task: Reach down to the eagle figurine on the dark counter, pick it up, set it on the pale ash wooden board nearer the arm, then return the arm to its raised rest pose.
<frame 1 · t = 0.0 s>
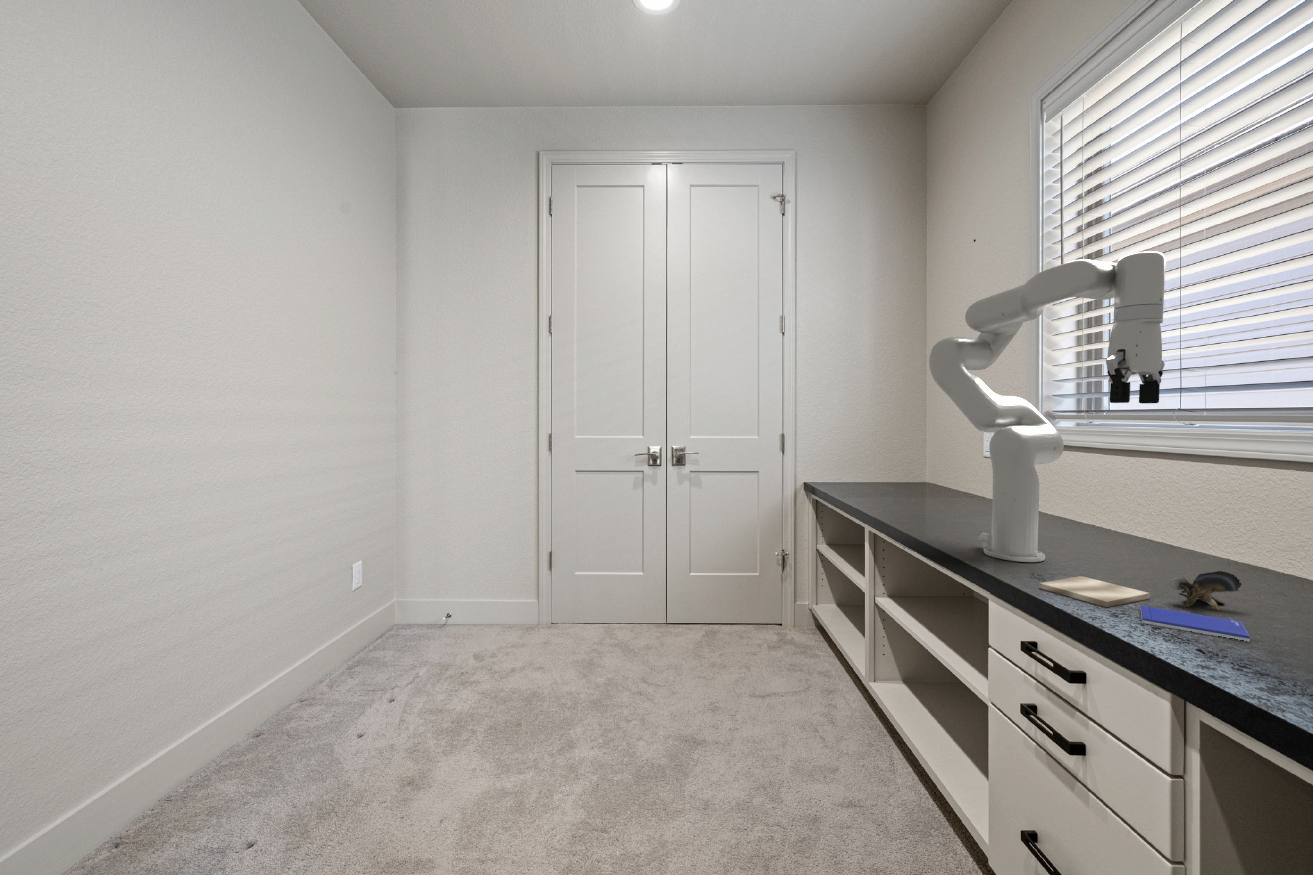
hand: (1134, 403, 113), 37 cm above the worktop, tool pointing down, fingers open, 9 cm apart
ash board: (1092, 593, 109), on the worktop
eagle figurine: (1204, 607, 102), on the worktop
hard drive: (1190, 629, 93), on the worktop
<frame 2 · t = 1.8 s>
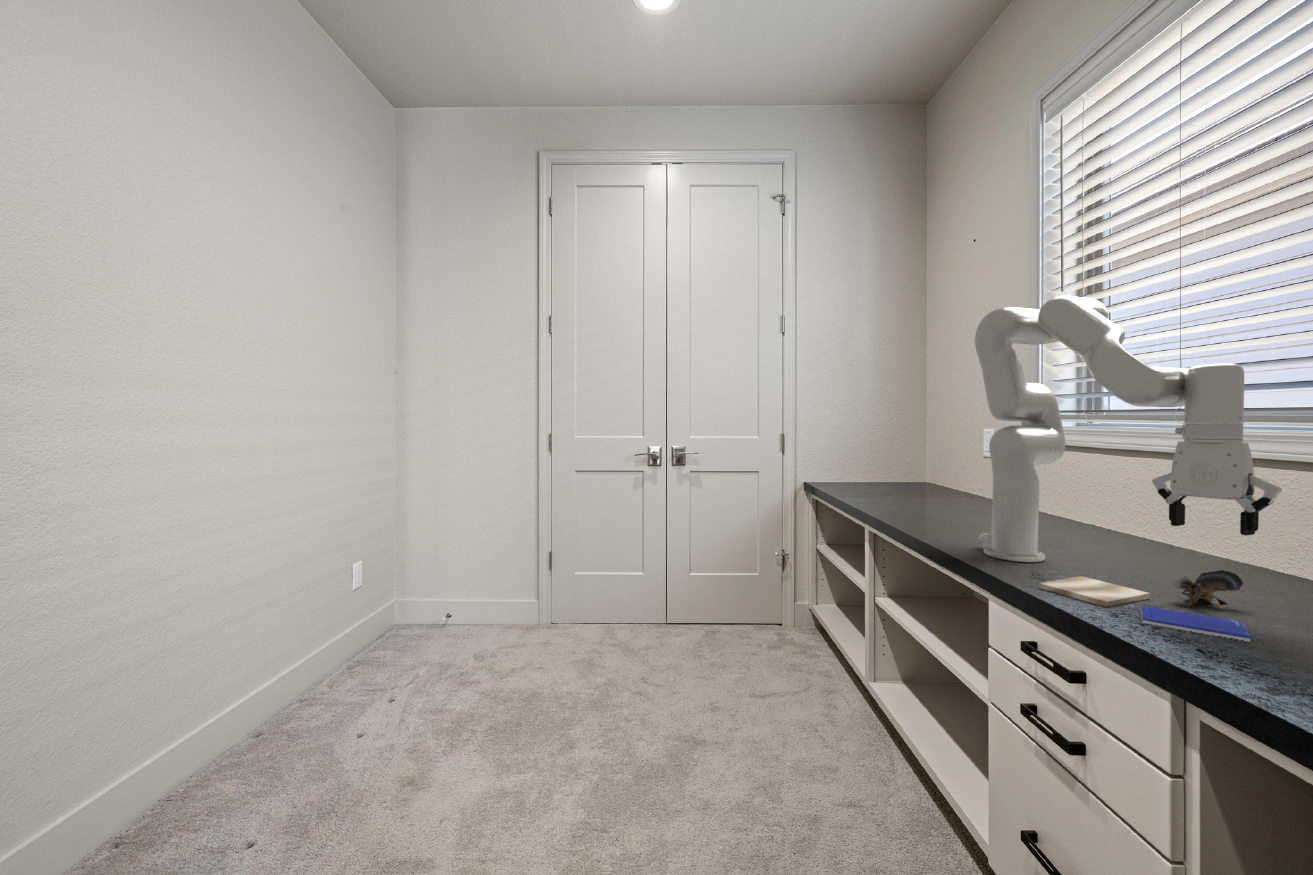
hand: (1211, 529, 101), 14 cm above the worktop, tool pointing down, fingers open, 9 cm apart
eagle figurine: (1206, 606, 103), on the worktop
everything else where it was.
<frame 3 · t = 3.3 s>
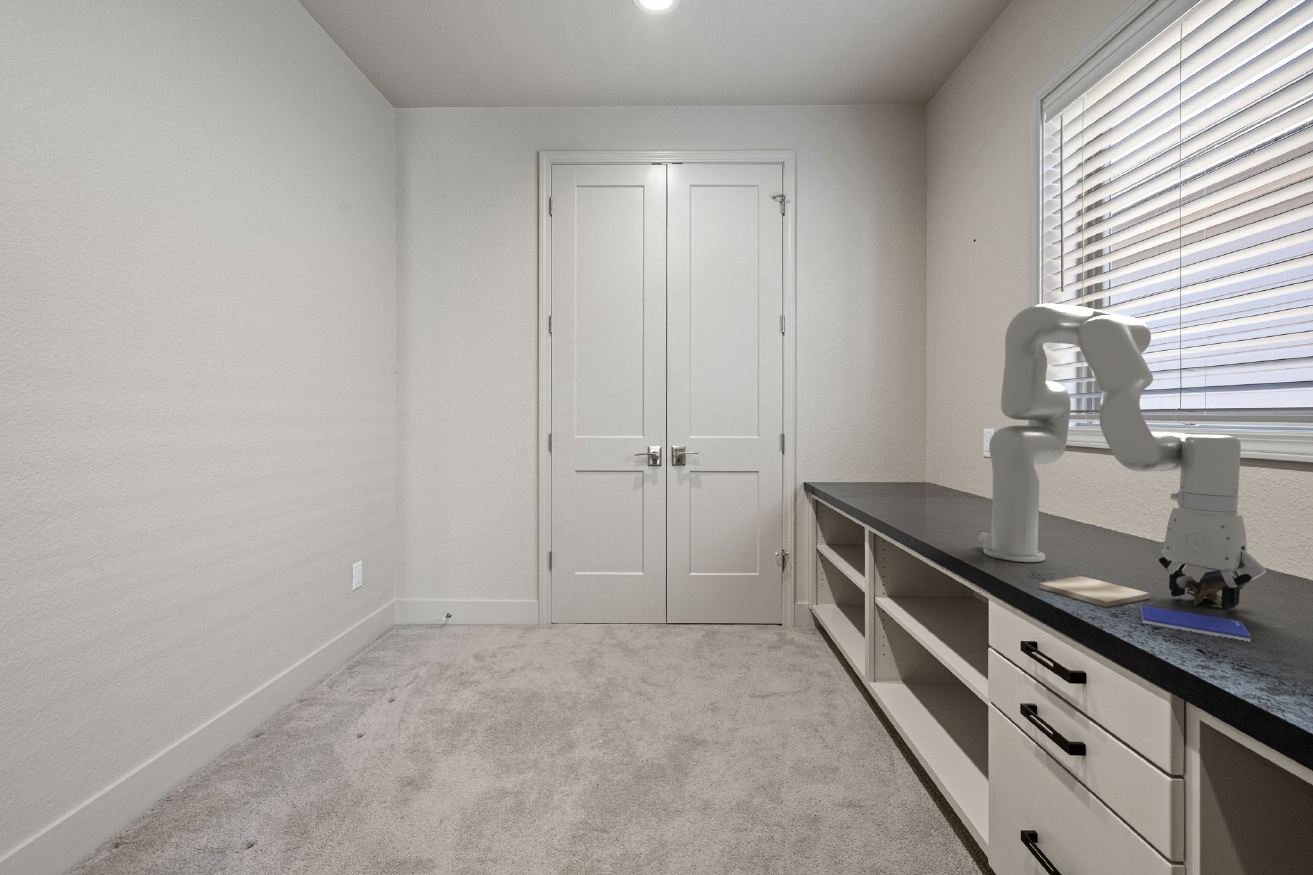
hand: (1202, 600, 102), 1 cm above the worktop, tool pointing down, fingers closed on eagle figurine, 6 cm apart
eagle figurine: (1210, 605, 103), on the worktop, touching gripper
everything else where it was.
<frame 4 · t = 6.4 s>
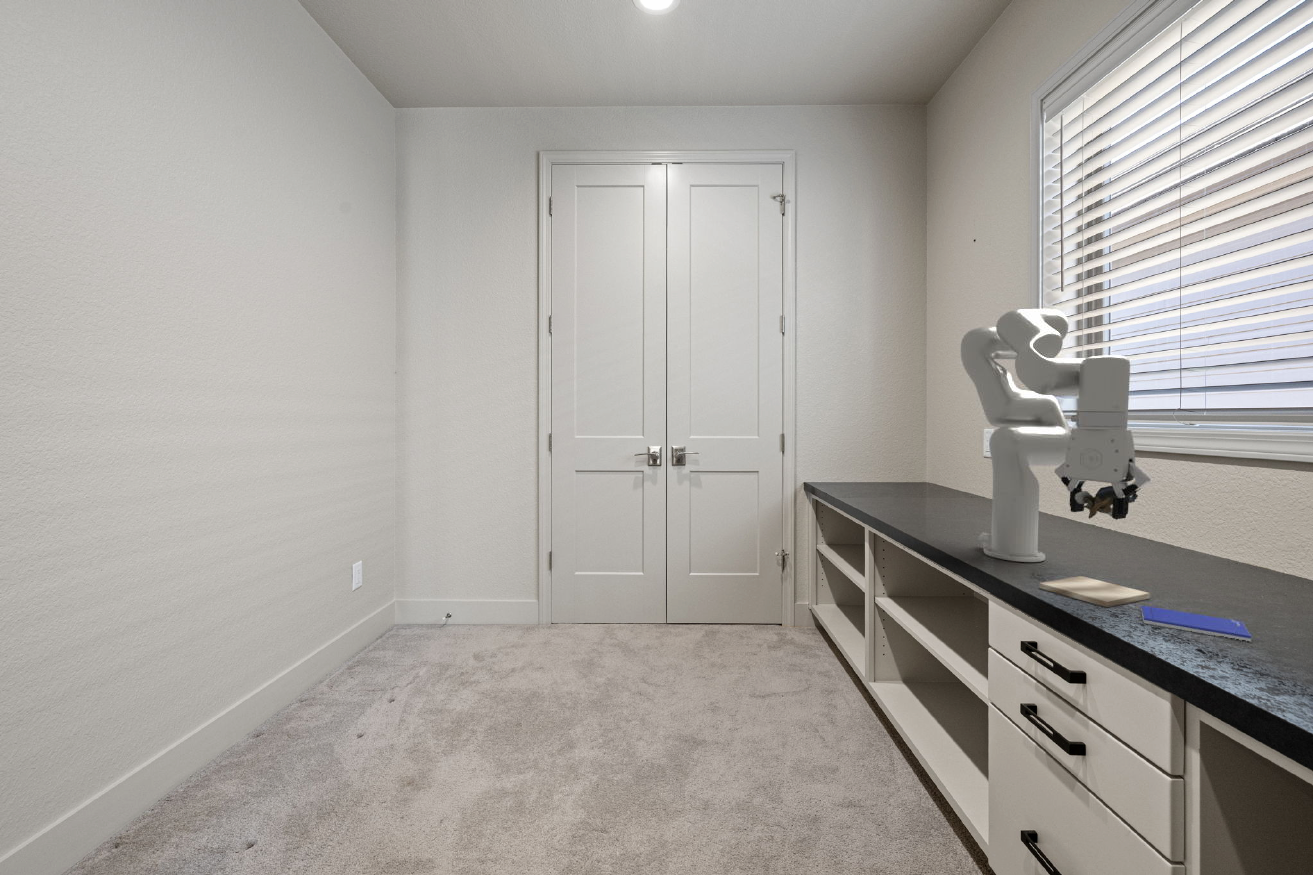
hand: (1097, 514, 108), 15 cm above the worktop, tool pointing down, fingers closed on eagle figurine, 6 cm apart
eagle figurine: (1105, 518, 109), point 14 cm above the worktop, touching gripper
everything else where it was.
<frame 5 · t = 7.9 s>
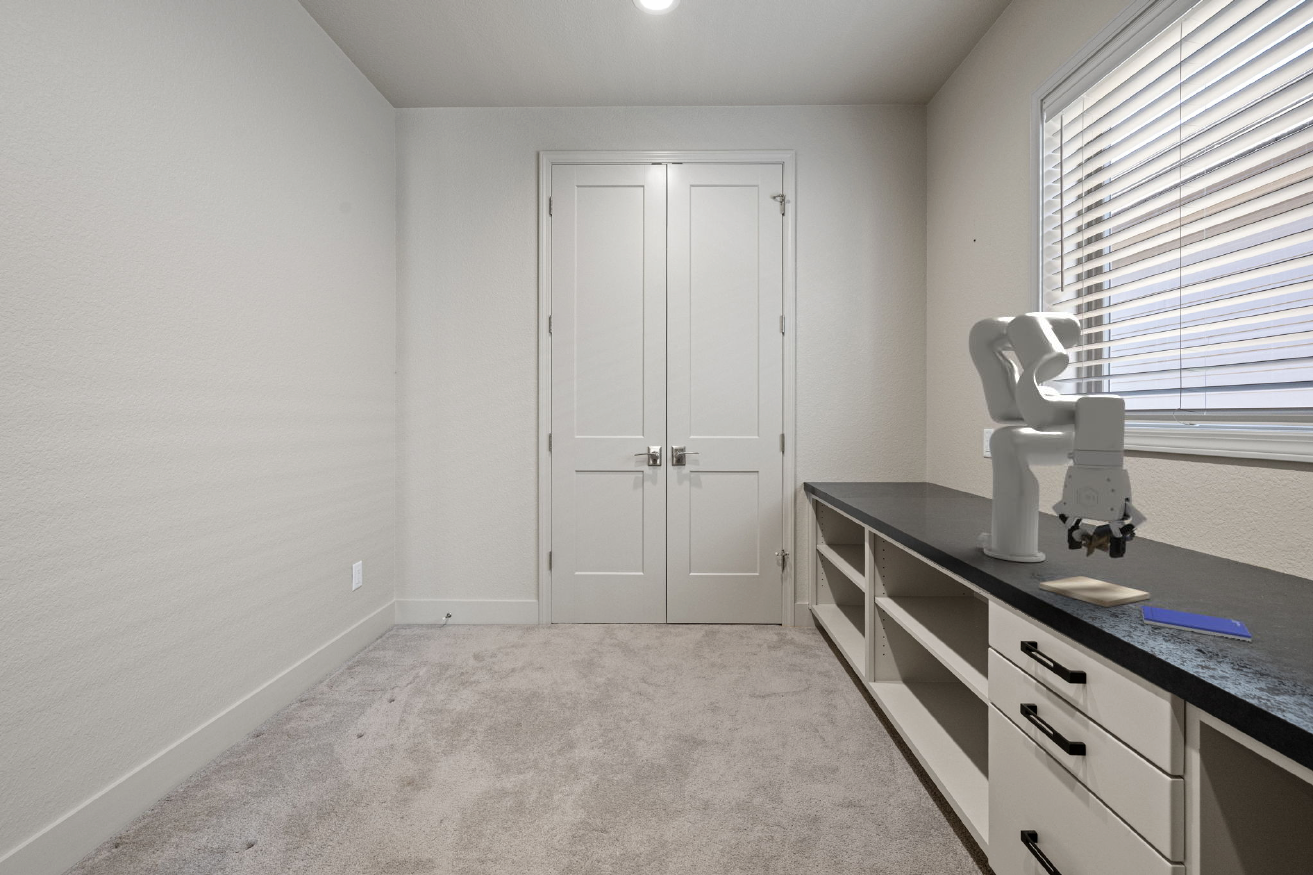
hand: (1095, 552, 108), 8 cm above the worktop, tool pointing down, fingers closed on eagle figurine, 6 cm apart
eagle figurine: (1103, 556, 109), point 7 cm above the worktop, touching gripper
everything else where it was.
when the fingers open (3 cm above the worktop, at t = 9.3 s): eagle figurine drops 1 cm, resting on ash board.
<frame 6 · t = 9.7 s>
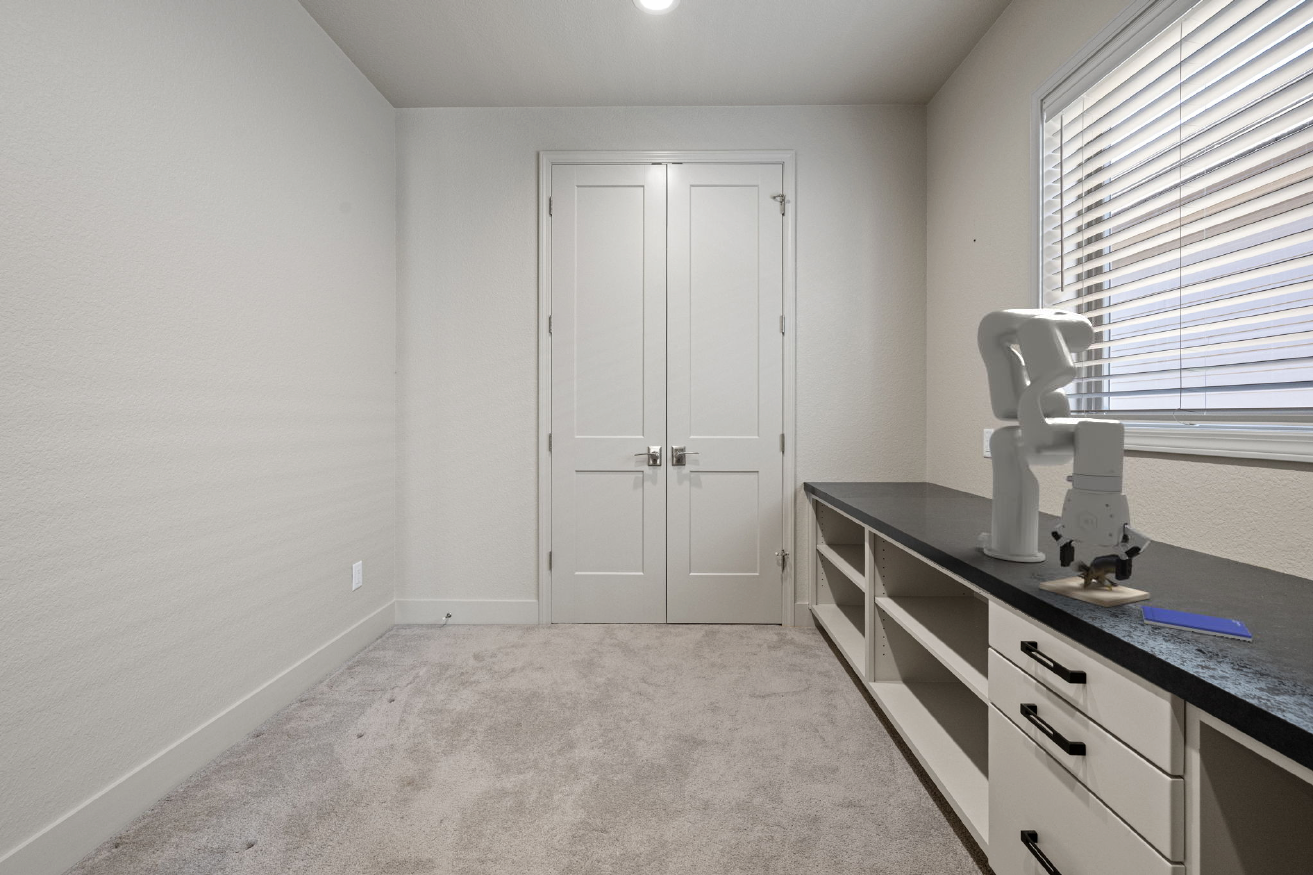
hand: (1093, 572, 109), 4 cm above the worktop, tool pointing down, fingers open, 9 cm apart
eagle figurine: (1100, 587, 110), point 1 cm above the worktop, touching ash board
everything else where it was.
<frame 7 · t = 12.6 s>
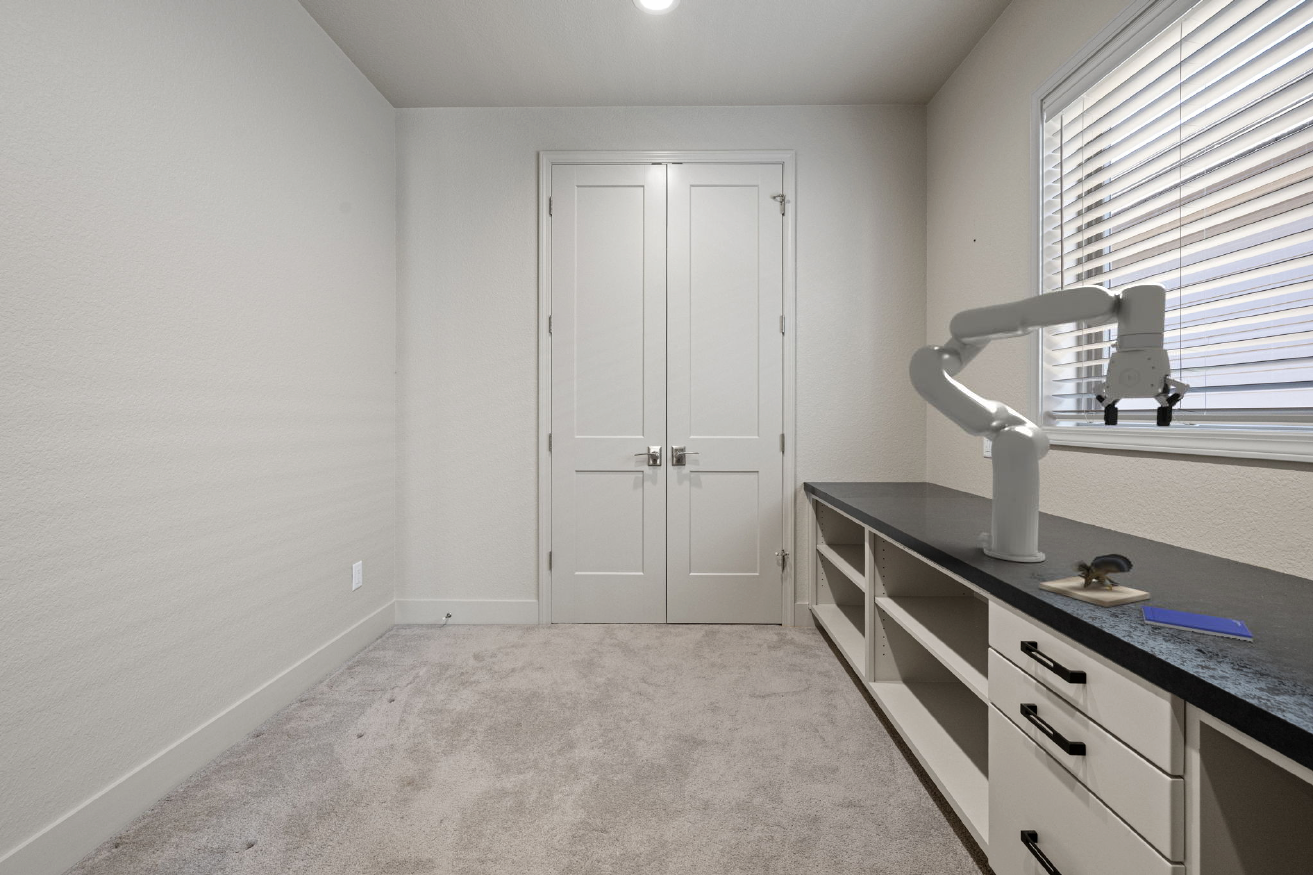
hand: (1136, 425, 120), 32 cm above the worktop, tool pointing down, fingers open, 9 cm apart
nothing on the worktop moved.
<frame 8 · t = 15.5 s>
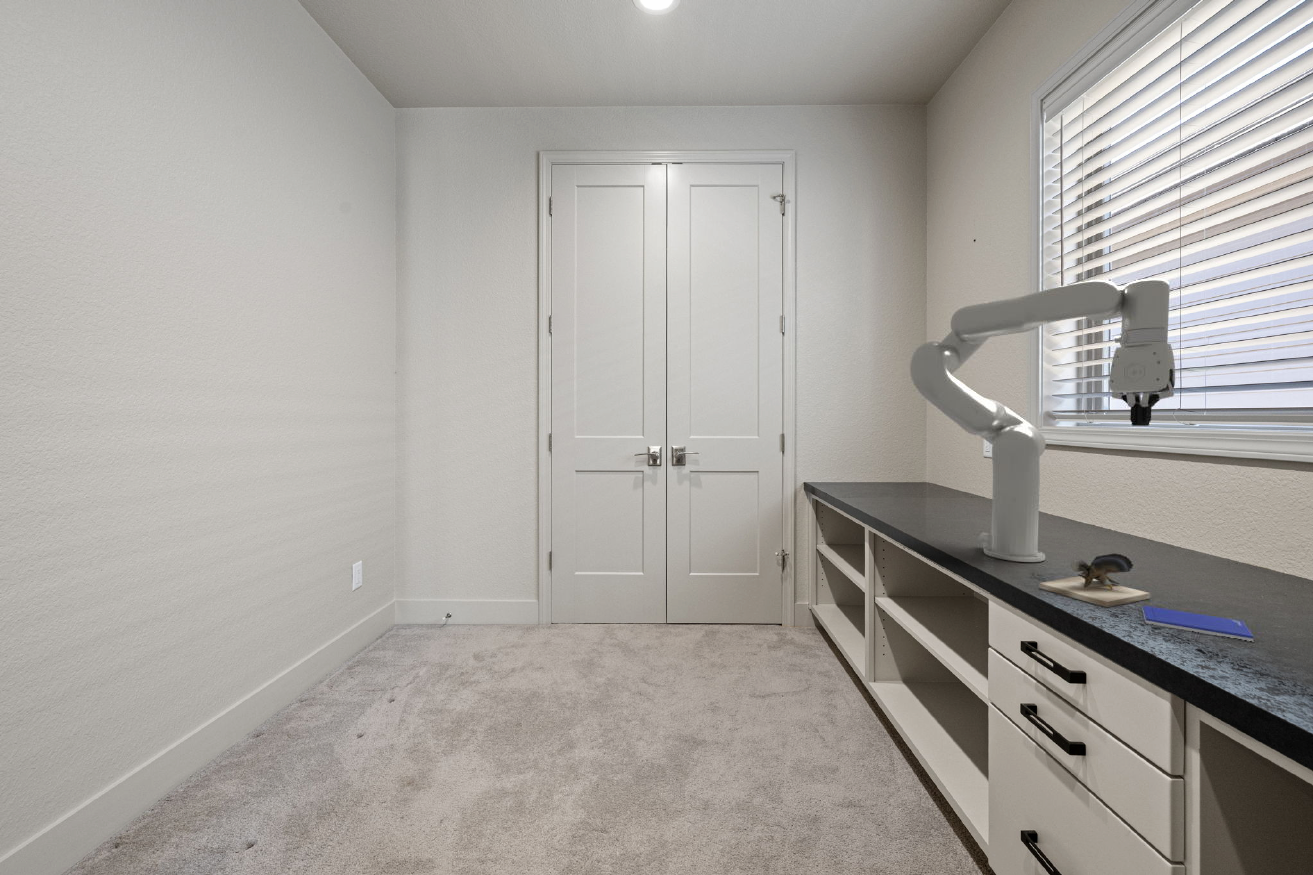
hand: (1140, 425, 121), 32 cm above the worktop, tool pointing down, fingers closed
nothing on the worktop moved.
at the end: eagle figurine 2.7 cm off-centre on the ash board, point 0.8 cm above the ash board's base; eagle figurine tilted 0°; the gripper is holding nothing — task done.
